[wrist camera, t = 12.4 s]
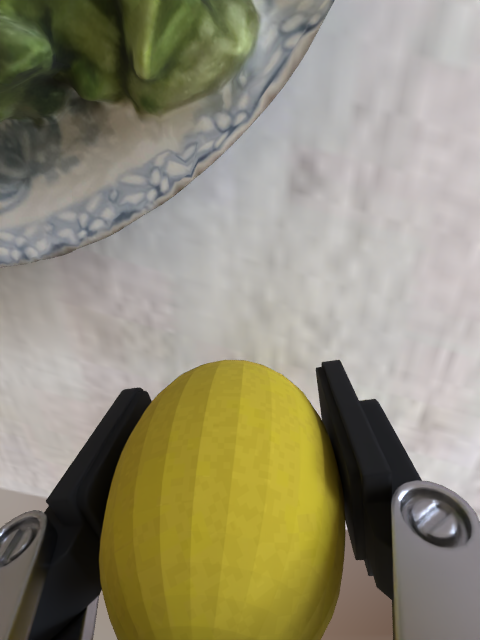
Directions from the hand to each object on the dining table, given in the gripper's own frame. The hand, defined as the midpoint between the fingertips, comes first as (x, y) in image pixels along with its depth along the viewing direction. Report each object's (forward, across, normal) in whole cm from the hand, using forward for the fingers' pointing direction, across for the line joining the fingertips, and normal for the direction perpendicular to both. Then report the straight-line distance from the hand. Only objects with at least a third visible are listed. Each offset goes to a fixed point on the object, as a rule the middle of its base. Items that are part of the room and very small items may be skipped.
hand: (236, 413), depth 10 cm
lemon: (+2, 0, 0) cm, 2 cm away
